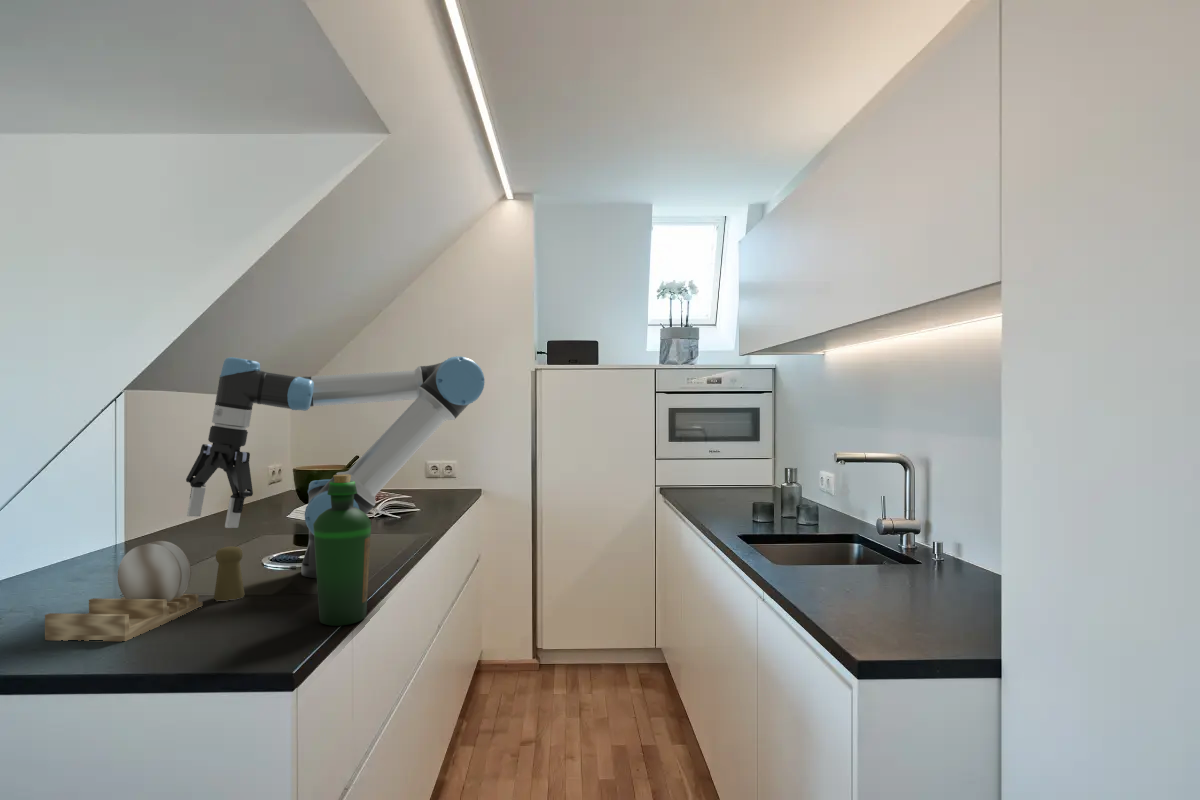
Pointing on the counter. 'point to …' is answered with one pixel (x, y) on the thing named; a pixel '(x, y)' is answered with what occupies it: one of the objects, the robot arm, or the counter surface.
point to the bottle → (342, 556)
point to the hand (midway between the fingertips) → (212, 521)
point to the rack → (133, 598)
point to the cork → (229, 574)
